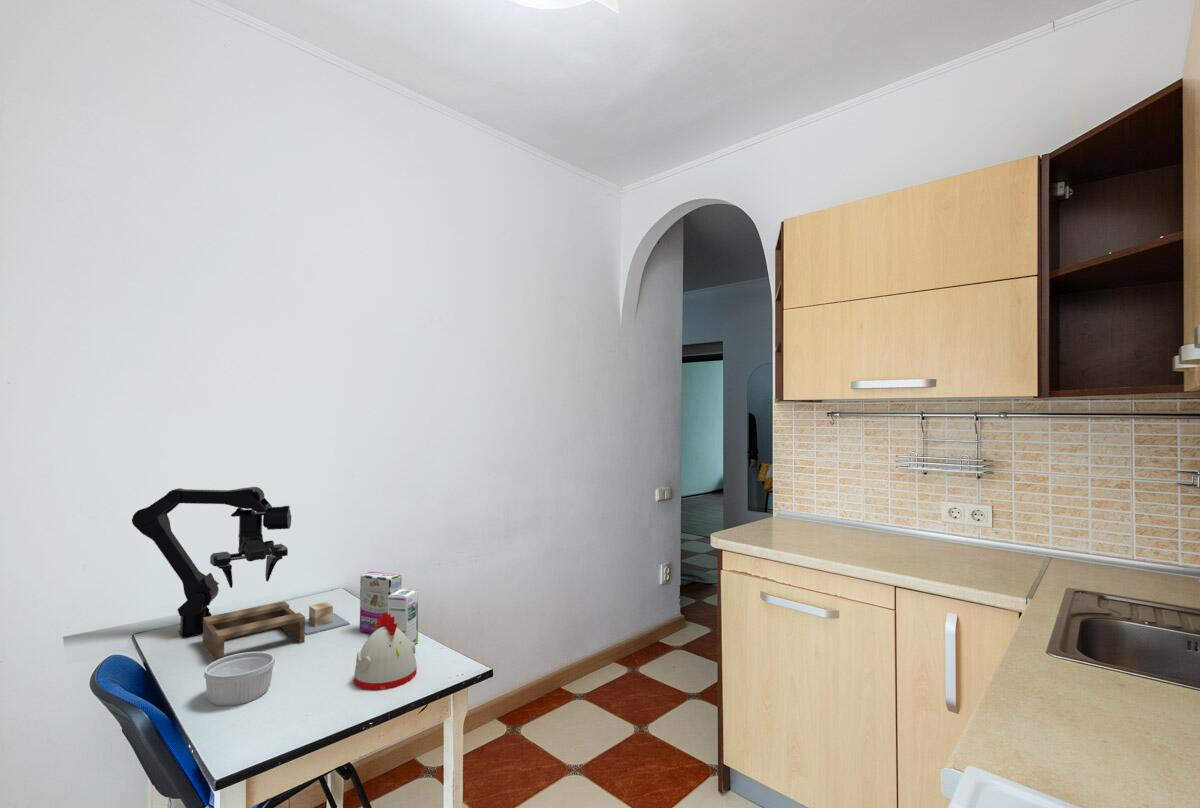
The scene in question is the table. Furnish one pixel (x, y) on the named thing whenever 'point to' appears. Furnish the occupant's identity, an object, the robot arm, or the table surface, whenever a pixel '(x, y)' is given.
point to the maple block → (320, 614)
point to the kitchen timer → (385, 658)
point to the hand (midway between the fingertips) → (249, 584)
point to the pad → (336, 623)
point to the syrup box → (405, 612)
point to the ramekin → (239, 678)
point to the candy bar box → (375, 598)
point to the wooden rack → (250, 625)
